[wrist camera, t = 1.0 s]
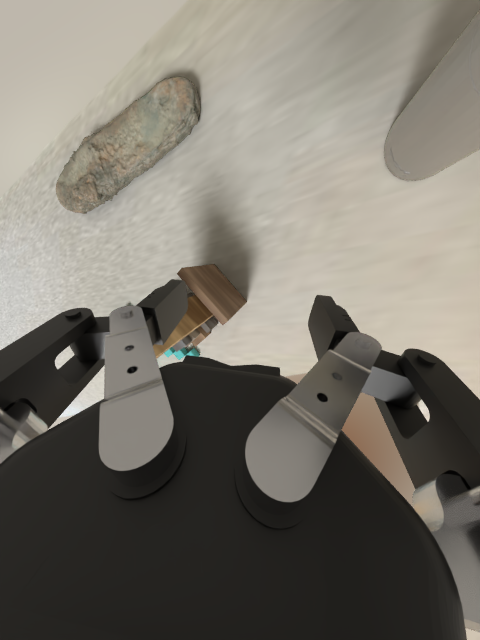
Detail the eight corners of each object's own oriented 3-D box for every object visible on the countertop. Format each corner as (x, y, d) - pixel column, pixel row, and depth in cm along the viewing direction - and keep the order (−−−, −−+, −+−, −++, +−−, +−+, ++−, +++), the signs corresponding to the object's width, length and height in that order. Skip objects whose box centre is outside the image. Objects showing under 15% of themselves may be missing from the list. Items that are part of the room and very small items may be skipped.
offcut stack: (181, 299, 42) (156, 309, 35) (211, 332, 43) (192, 349, 35) (171, 309, 44) (145, 321, 36) (200, 341, 45) (181, 359, 37)
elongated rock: (216, 140, 33) (193, 74, 31) (203, 117, 28) (176, 37, 26) (82, 228, 43) (60, 182, 41) (55, 222, 38) (29, 170, 37)
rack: (214, 264, 38) (181, 267, 27) (246, 301, 39) (228, 320, 28) (186, 294, 42) (147, 308, 31) (216, 328, 42) (189, 353, 32)
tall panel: (205, 290, 40) (117, 326, 20) (221, 308, 41) (149, 361, 21) (198, 298, 41) (107, 339, 21) (213, 315, 42) (138, 372, 22)
